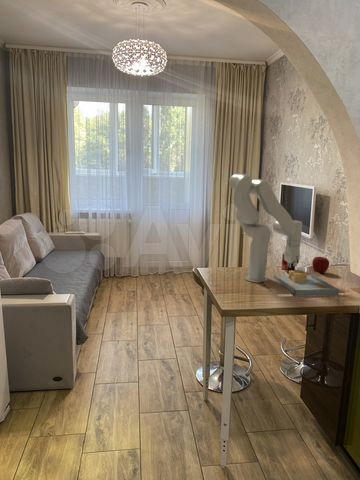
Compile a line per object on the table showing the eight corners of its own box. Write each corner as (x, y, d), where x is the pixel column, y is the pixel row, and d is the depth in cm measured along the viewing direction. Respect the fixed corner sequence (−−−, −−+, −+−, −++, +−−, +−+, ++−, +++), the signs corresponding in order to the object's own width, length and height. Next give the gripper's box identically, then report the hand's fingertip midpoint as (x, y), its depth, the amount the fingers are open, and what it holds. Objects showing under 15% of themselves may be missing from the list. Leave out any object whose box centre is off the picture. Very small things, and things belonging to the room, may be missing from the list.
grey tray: (273, 279, 203) (273, 274, 203) (312, 279, 207) (312, 274, 206) (294, 296, 178) (295, 290, 177) (338, 295, 182) (338, 289, 181)
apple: (328, 272, 223) (330, 256, 221) (327, 276, 214) (329, 259, 212) (312, 269, 226) (313, 254, 224) (310, 273, 218) (312, 257, 216)
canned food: (293, 273, 217) (294, 255, 215) (279, 271, 221) (281, 253, 219) (296, 270, 224) (297, 253, 221) (282, 268, 227) (284, 251, 225)
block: (288, 278, 203) (289, 270, 202) (300, 278, 204) (300, 270, 203) (294, 282, 196) (294, 274, 195) (306, 282, 197) (307, 274, 196)
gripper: (281, 239, 211) (278, 270, 215) (293, 245, 196) (290, 278, 200) (293, 239, 212) (290, 270, 216) (306, 245, 198) (302, 277, 201)
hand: (290, 274), depth 208 cm, fingers closed
